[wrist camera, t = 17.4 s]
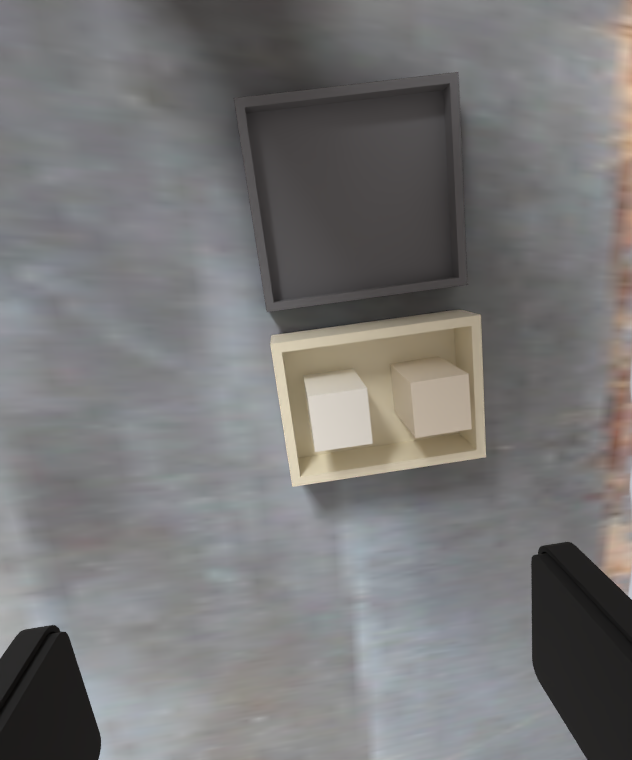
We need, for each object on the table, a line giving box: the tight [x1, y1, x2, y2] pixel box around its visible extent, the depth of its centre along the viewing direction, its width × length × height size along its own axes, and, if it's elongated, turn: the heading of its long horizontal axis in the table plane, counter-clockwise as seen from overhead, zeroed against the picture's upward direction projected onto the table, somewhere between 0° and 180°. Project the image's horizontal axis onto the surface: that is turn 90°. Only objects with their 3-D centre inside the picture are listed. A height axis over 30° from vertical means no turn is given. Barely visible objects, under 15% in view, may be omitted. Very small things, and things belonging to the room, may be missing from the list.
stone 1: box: [303, 368, 373, 452], centre depth 34 cm, size 4×4×6 cm
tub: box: [270, 309, 486, 487], centre depth 36 cm, size 11×15×4 cm
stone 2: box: [390, 356, 472, 438], centre depth 34 cm, size 4×4×6 cm
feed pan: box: [234, 72, 467, 312], centre depth 33 cm, size 14×15×2 cm
